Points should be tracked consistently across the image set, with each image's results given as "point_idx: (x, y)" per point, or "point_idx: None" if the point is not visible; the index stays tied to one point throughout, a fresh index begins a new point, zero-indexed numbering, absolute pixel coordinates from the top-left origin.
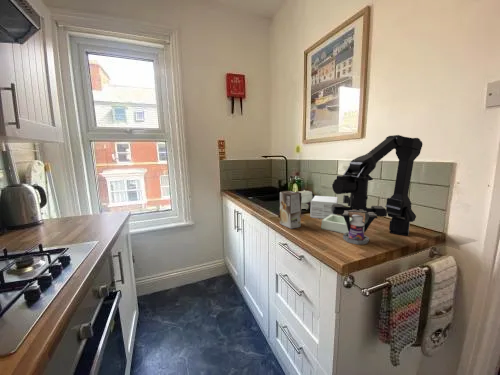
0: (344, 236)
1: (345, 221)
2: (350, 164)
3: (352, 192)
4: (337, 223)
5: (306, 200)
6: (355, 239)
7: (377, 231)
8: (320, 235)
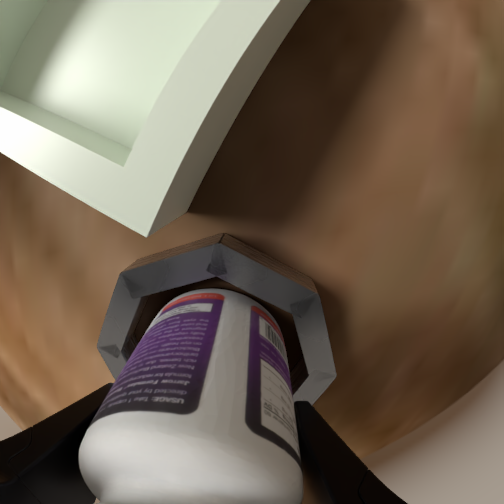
0: (109, 363)
1: (31, 444)
2: None
3: None
4: (5, 153)
5: None
6: None
7: (487, 82)
8: None
